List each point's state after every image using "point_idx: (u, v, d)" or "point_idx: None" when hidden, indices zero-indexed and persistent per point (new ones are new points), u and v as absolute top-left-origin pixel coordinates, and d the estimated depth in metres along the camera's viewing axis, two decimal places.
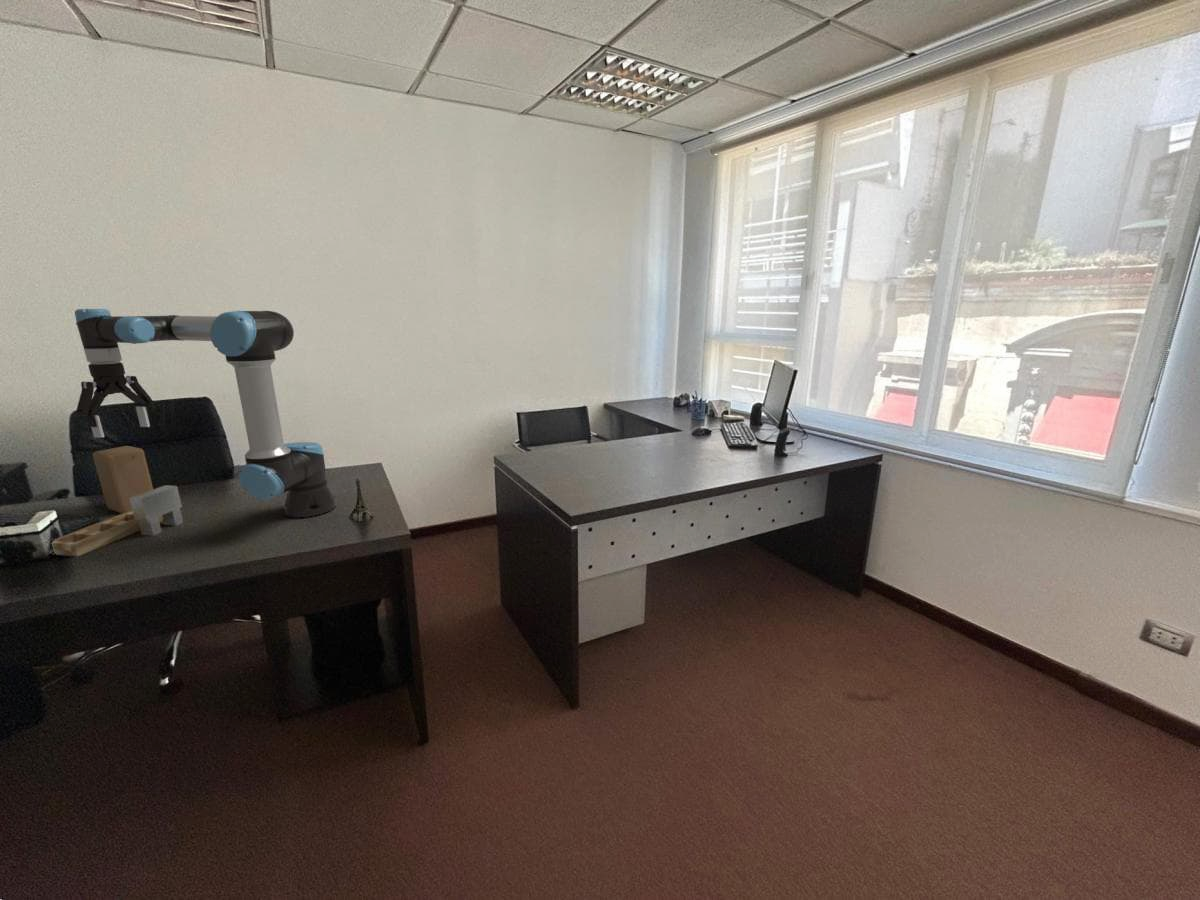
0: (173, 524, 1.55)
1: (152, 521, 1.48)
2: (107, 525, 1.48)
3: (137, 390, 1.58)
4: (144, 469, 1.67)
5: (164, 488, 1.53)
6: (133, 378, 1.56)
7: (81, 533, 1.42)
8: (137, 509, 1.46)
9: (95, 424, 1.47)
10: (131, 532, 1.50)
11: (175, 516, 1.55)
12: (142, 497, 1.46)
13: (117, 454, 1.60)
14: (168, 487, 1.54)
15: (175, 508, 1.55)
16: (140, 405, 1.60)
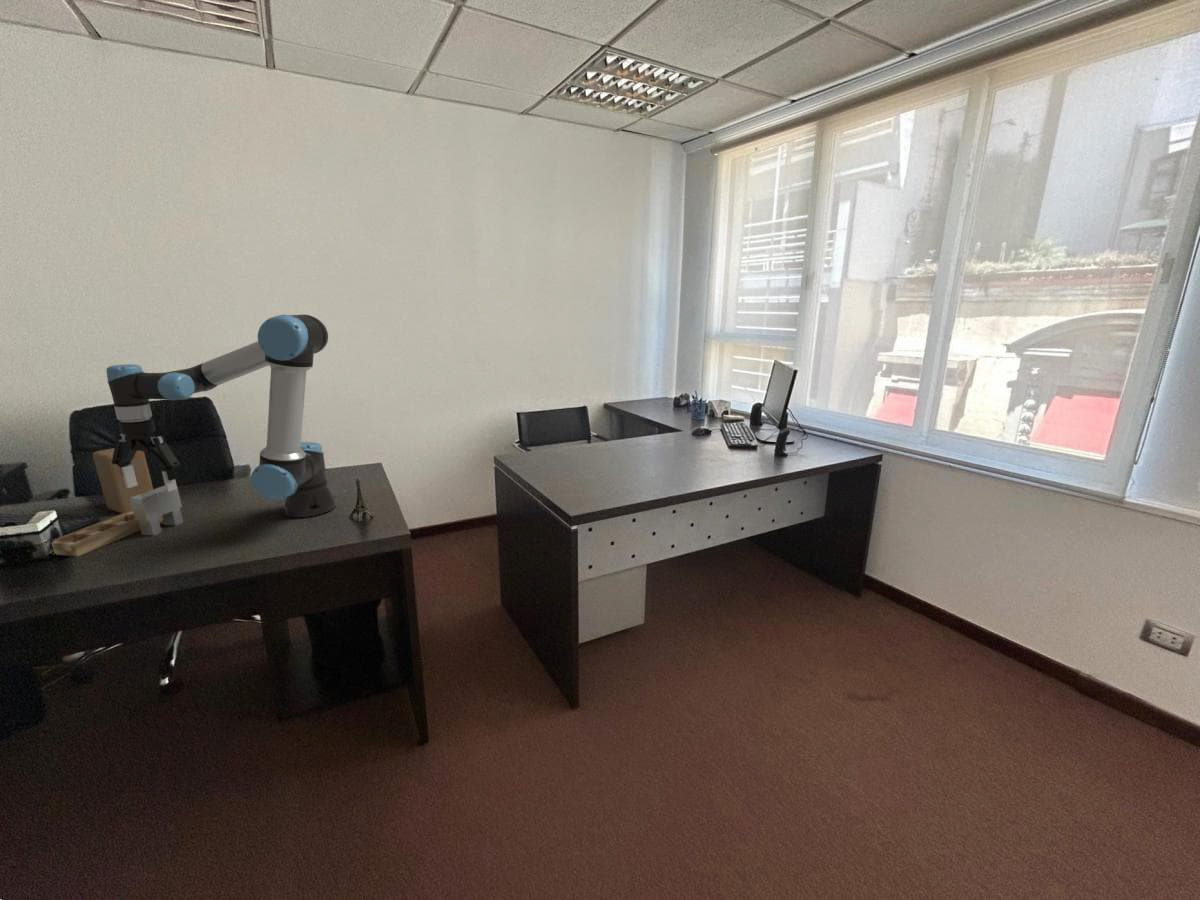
0: (173, 524, 1.55)
1: (152, 521, 1.48)
2: (107, 525, 1.48)
3: None
4: (144, 469, 1.67)
5: (164, 488, 1.53)
6: (153, 440, 1.44)
7: (81, 533, 1.42)
8: (137, 509, 1.46)
9: None
10: (131, 532, 1.50)
11: (175, 516, 1.55)
12: (142, 497, 1.46)
13: None
14: None
15: (175, 508, 1.55)
16: None
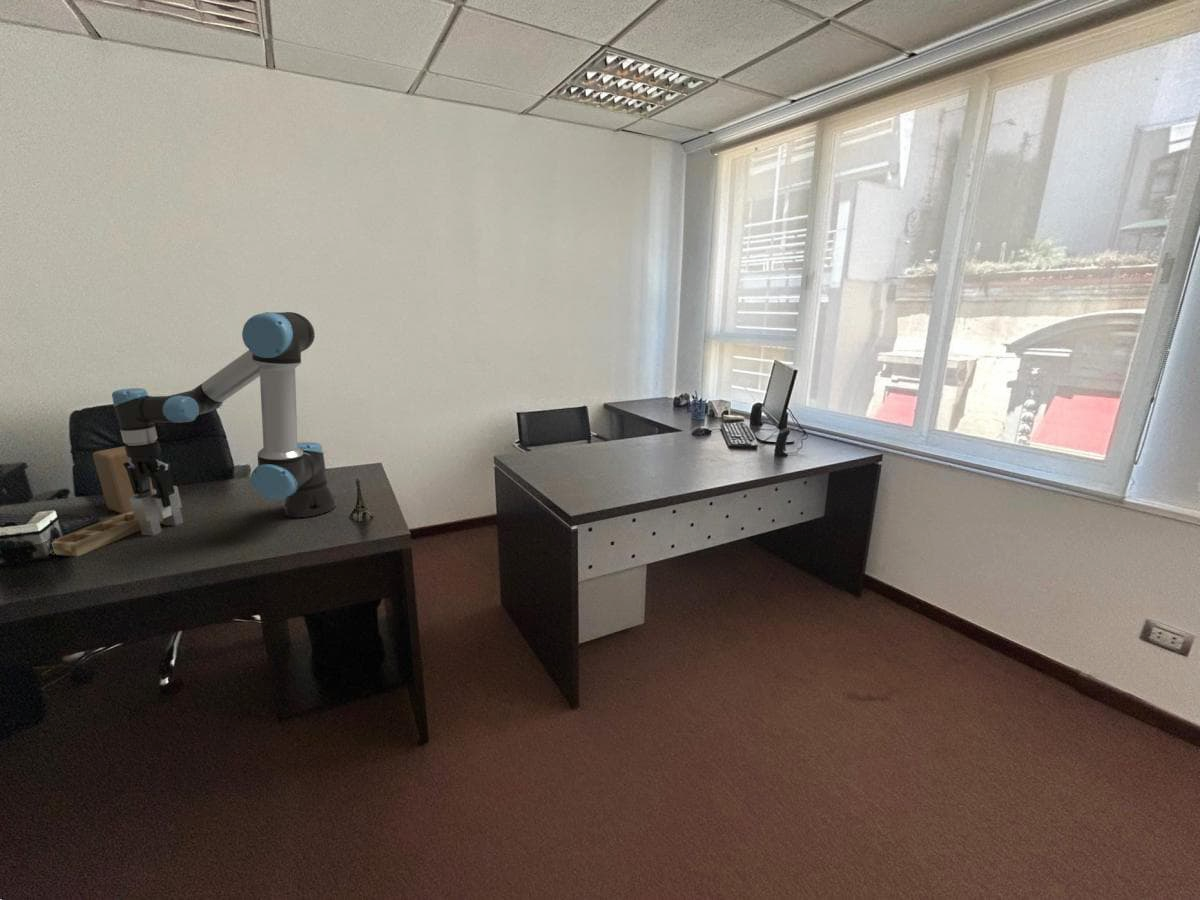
0: (173, 524, 1.55)
1: (152, 521, 1.48)
2: (107, 525, 1.48)
3: None
4: None
5: None
6: (159, 466, 1.46)
7: (81, 533, 1.42)
8: (137, 509, 1.46)
9: None
10: (131, 532, 1.50)
11: (175, 516, 1.55)
12: (142, 497, 1.46)
13: (117, 454, 1.60)
14: None
15: (175, 508, 1.55)
16: None
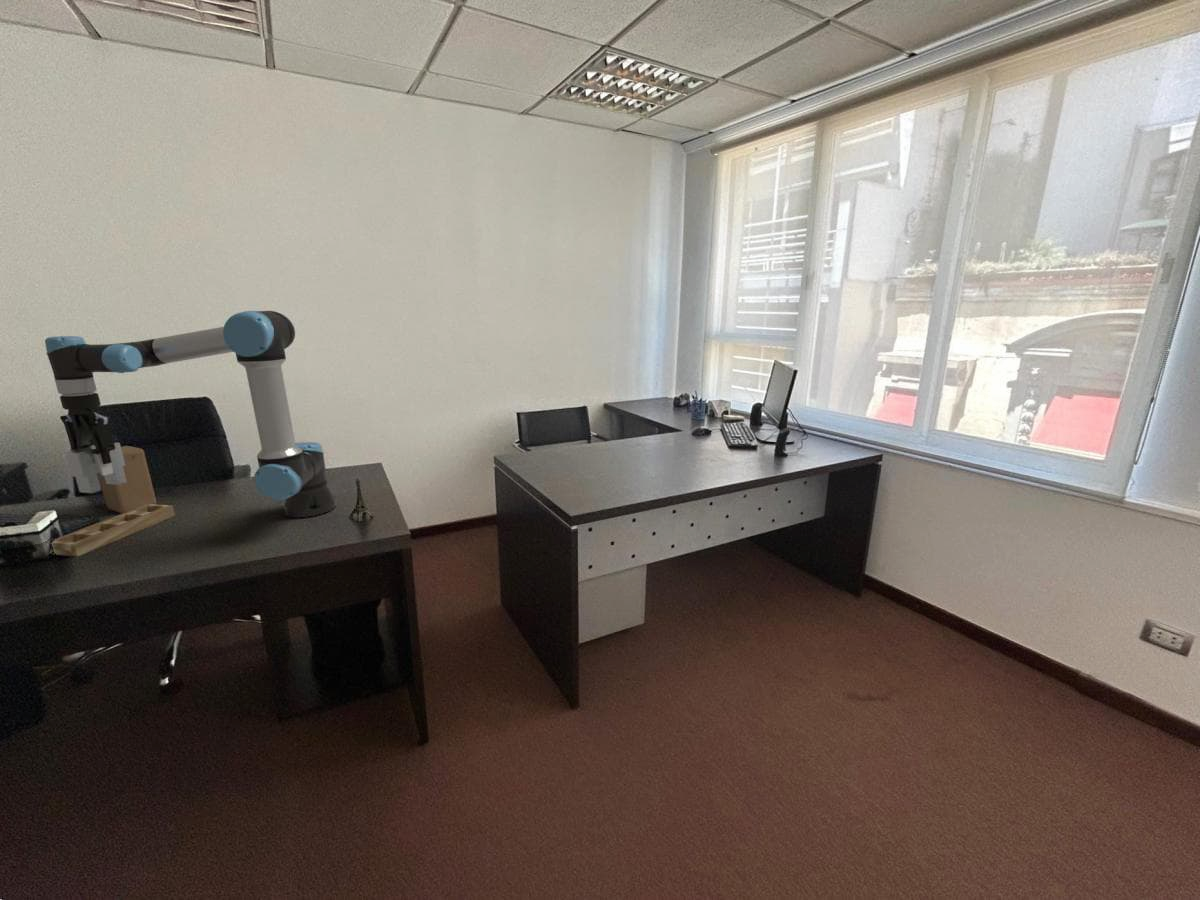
0: (115, 483, 1.48)
1: (90, 477, 1.41)
2: (107, 525, 1.48)
3: None
4: (144, 469, 1.67)
5: None
6: (98, 419, 1.38)
7: (81, 533, 1.42)
8: (74, 464, 1.38)
9: None
10: (131, 532, 1.50)
11: (117, 475, 1.48)
12: (79, 451, 1.38)
13: None
14: None
15: (117, 466, 1.47)
16: None
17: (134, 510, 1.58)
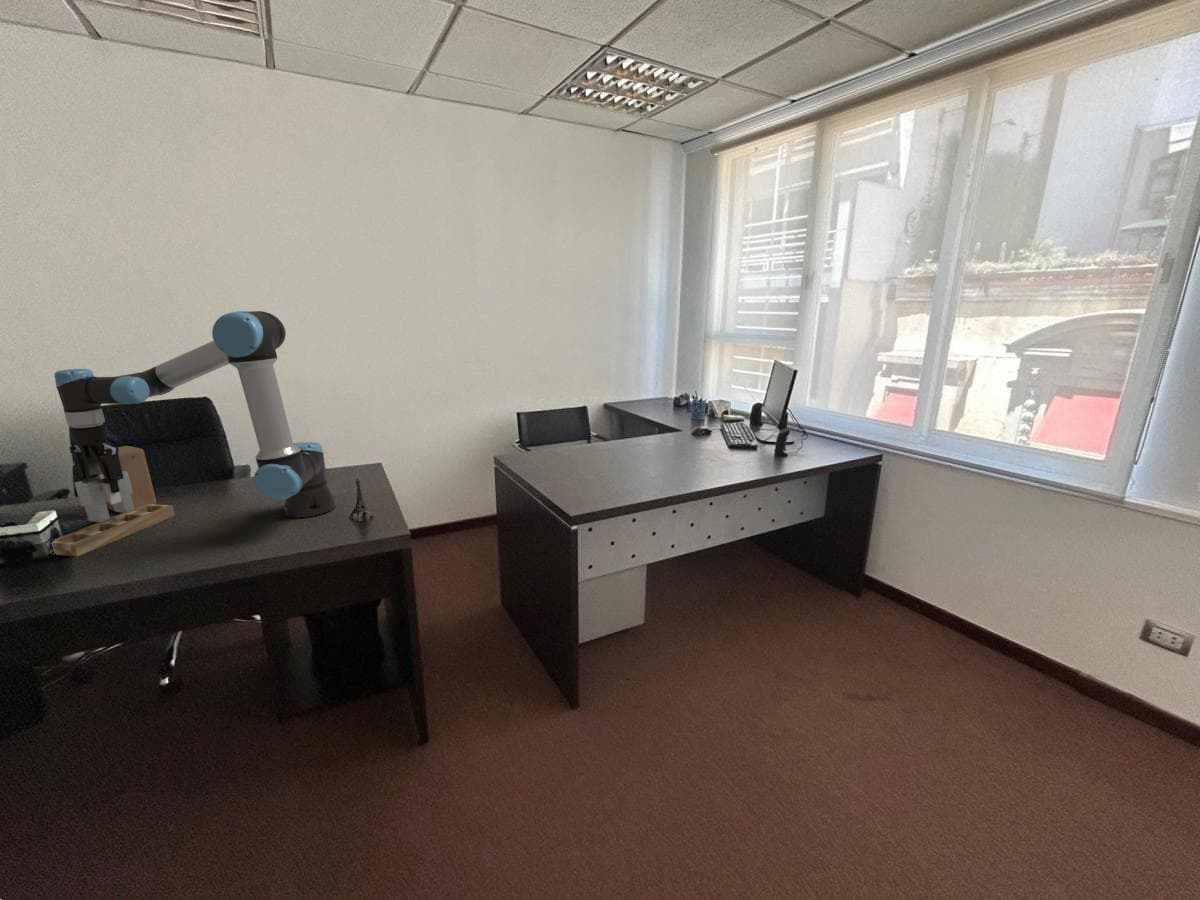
0: (123, 511, 1.50)
1: (99, 507, 1.43)
2: (107, 525, 1.48)
3: None
4: (144, 469, 1.67)
5: None
6: (106, 450, 1.41)
7: (81, 533, 1.42)
8: (83, 494, 1.41)
9: None
10: (131, 532, 1.50)
11: (125, 503, 1.50)
12: (88, 481, 1.41)
13: None
14: None
15: (125, 494, 1.50)
16: None
17: (134, 510, 1.58)
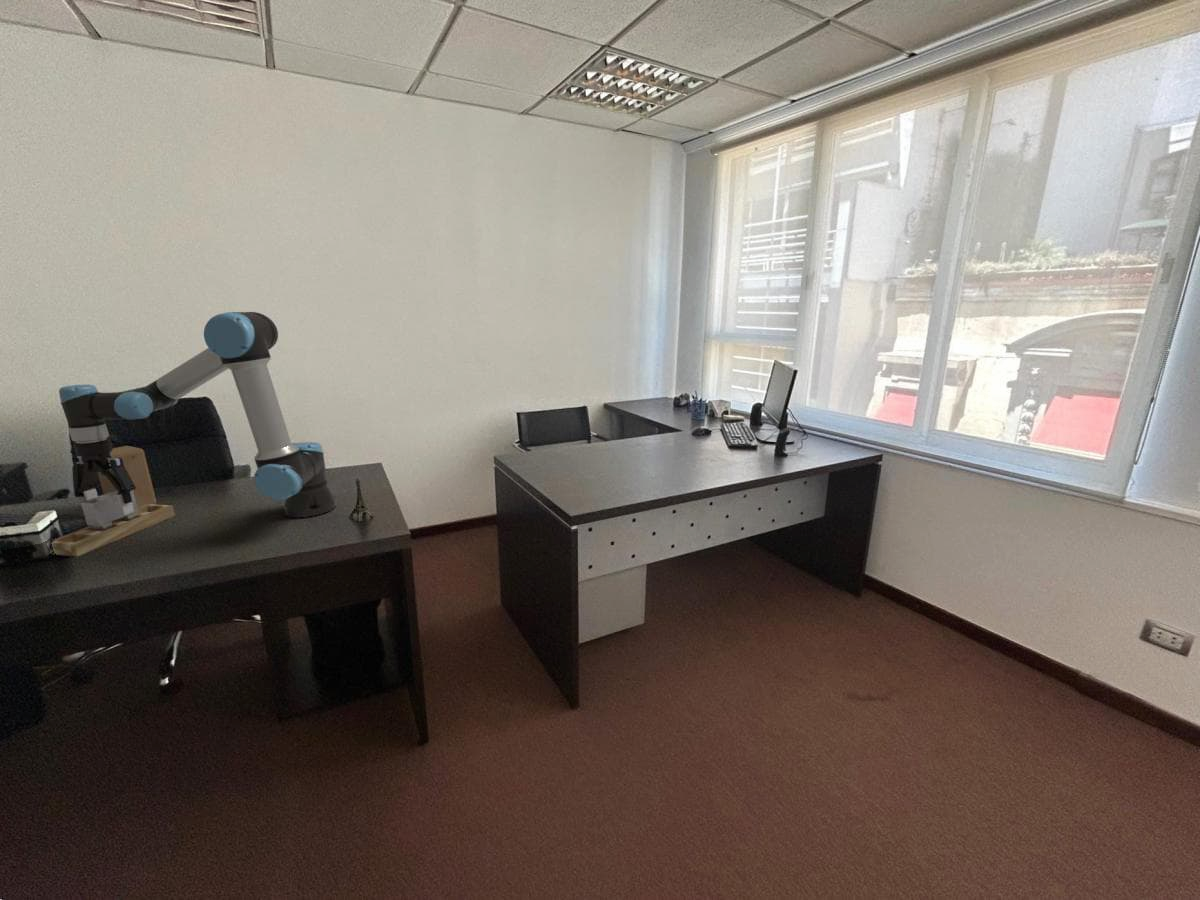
0: None
1: (105, 526, 1.45)
2: None
3: None
4: (144, 469, 1.67)
5: None
6: (110, 462, 1.42)
7: (81, 533, 1.42)
8: (89, 514, 1.42)
9: None
10: (131, 532, 1.50)
11: None
12: (94, 501, 1.43)
13: (117, 454, 1.60)
14: None
15: (131, 512, 1.52)
16: None
17: None
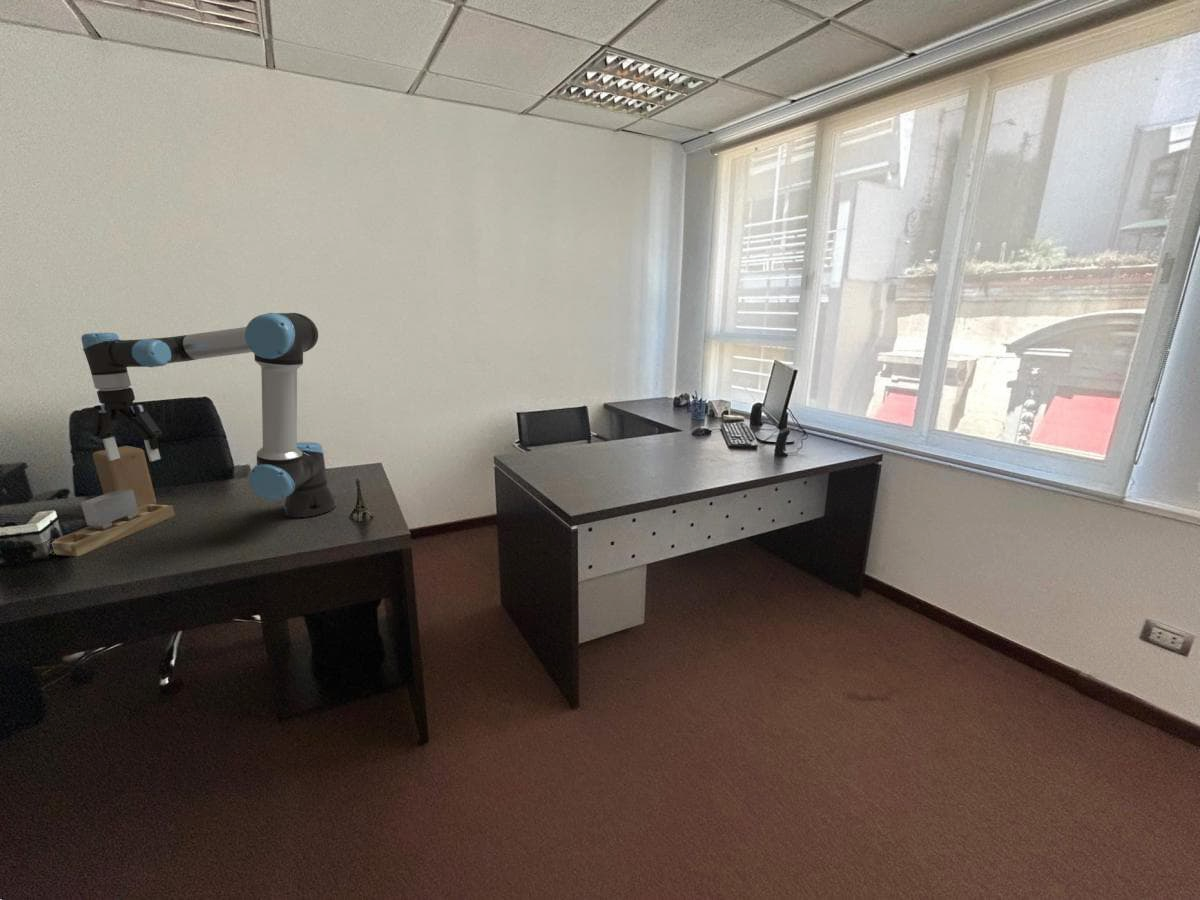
0: None
1: (105, 526, 1.45)
2: None
3: None
4: (144, 469, 1.67)
5: (118, 491, 1.50)
6: (133, 408, 1.42)
7: (81, 533, 1.42)
8: (89, 514, 1.42)
9: None
10: (131, 532, 1.50)
11: None
12: (94, 501, 1.43)
13: None
14: (124, 491, 1.50)
15: (131, 512, 1.52)
16: None
17: None
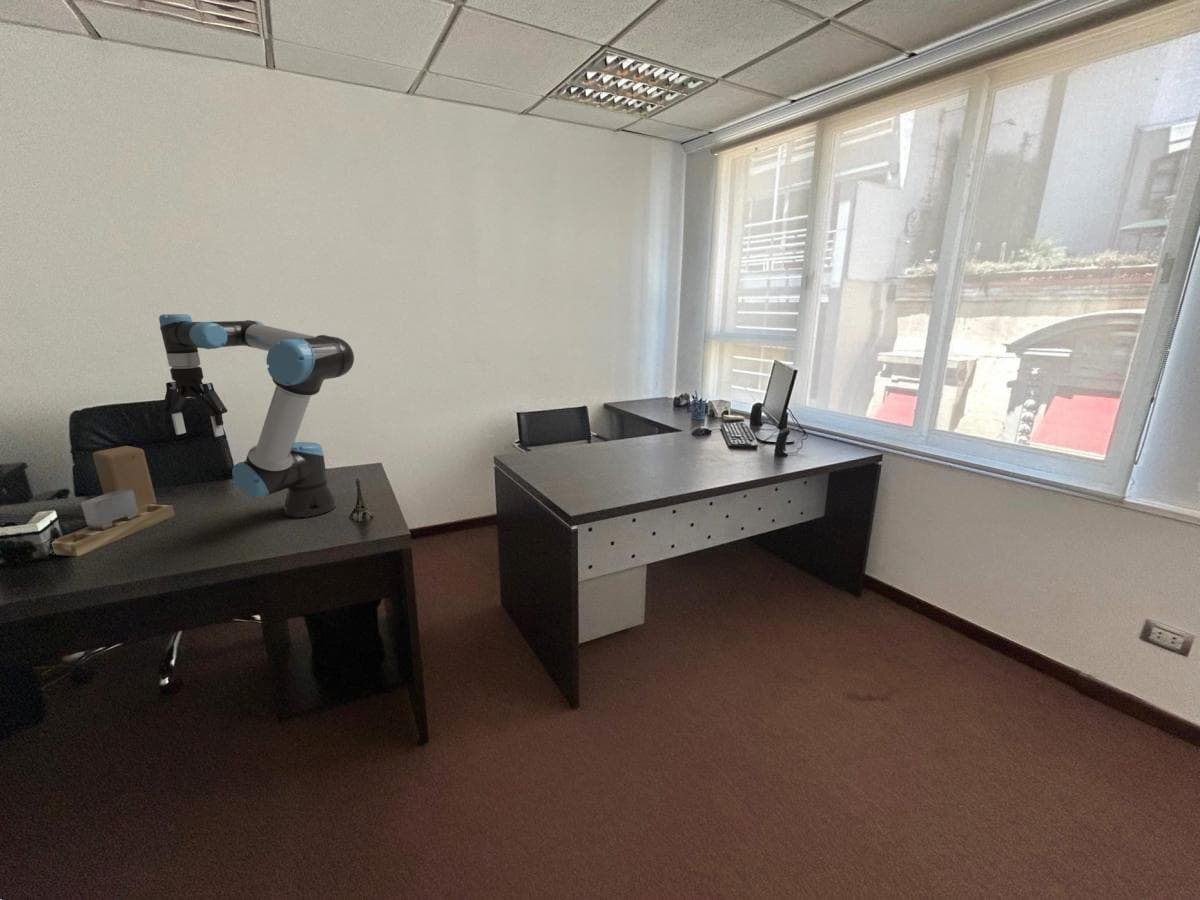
0: None
1: (105, 526, 1.45)
2: None
3: None
4: (144, 469, 1.67)
5: (118, 491, 1.50)
6: (203, 386, 1.51)
7: (81, 533, 1.42)
8: (89, 514, 1.42)
9: None
10: (131, 532, 1.50)
11: None
12: (94, 501, 1.43)
13: (117, 454, 1.60)
14: (124, 491, 1.50)
15: (131, 512, 1.52)
16: None
17: None
